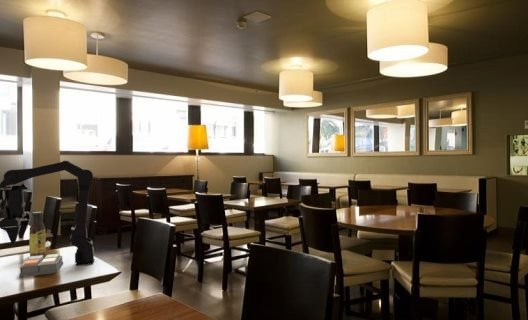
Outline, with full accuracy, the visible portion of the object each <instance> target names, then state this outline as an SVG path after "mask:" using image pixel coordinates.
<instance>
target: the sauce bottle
mask: <svg viewBox="0 0 528 320" xmlns="http://www.w3.org/2000/svg"><path fill="white" fill-rule="evenodd" d="M43 213H44V212H43V211H35V212H34V211H33V212H31V214H32V223H31V225H30V226H29V233H28V234H29V237H28V240H29V246H28V247H29V248H28V249H29V258H30V257H31V256H40V255H43V257H44V256H45V255H46V248H47V246H46V241H47V240H46V227H45V225H44V223H43Z"/></svg>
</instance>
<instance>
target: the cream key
mask: <svg viewBox="0 0 528 320" xmlns="http://www.w3.org/2000/svg"><path fill="white" fill-rule="evenodd" d="M56 262H57V258H47V259H44V260H43V261H42V262H41V265H46V264H55V263H56Z"/></svg>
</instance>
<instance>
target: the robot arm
mask: <svg viewBox="0 0 528 320" xmlns="http://www.w3.org/2000/svg"><path fill="white" fill-rule="evenodd" d="M63 171H65V172H67V173H69V174H71V175H72V176H75V177H76V178H77V183H78V203H77V212H76V222H75V227H74V226H72V227H71V228H70V237H69V241H70V240H71V244H72V245H73V246H74V247H76V251H75V253H74V259H75V261H74V263H75V266H84V265H93V264H94V263H95V252H94V251H95V248H94V241H93V240H92V239H91V238H89V237H88V230H87V213H88V205H89V204H88V202H89V191H90V188H91V184H92V181H93V178H94V175H93V172H92V171H91V170H90V169H88V168H81V167H79V166H78V165H75V164H73V163H72V162H70V161H69V160H62V161H59V162H55V163H49V164H46V165H42V166H36V167H32V168H31V167H30V168H15V169H9V170H7V171H6V172H5V173H4V174H3V179H2V181H1V182H0V203H2V201H4V200H5V202H6V203H5V205H3V209H0V229H1V230H3V231H4V232H6V233H7V236H8V239H9V241H10V243H11V245H14V244H16V242H17V238H19V239H23V238H24V235H25V233H26V231H27V229H28V227H29V224H30V222H31V220H32V219H33V216H32V212H30V211H25V206H26V205H27V204H26V202H25V198H24V190H28V189H30V186H28V185H26V183H24V182H25V181H27V180H30V179H32V178H37V177H41V176H44V175H49V174H54V173H59V172H63ZM22 182H23V183H22ZM20 183H22V184H20ZM17 184H20V185H17ZM11 185H12V186H11ZM9 186H11V188H8V187H9Z"/></svg>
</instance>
